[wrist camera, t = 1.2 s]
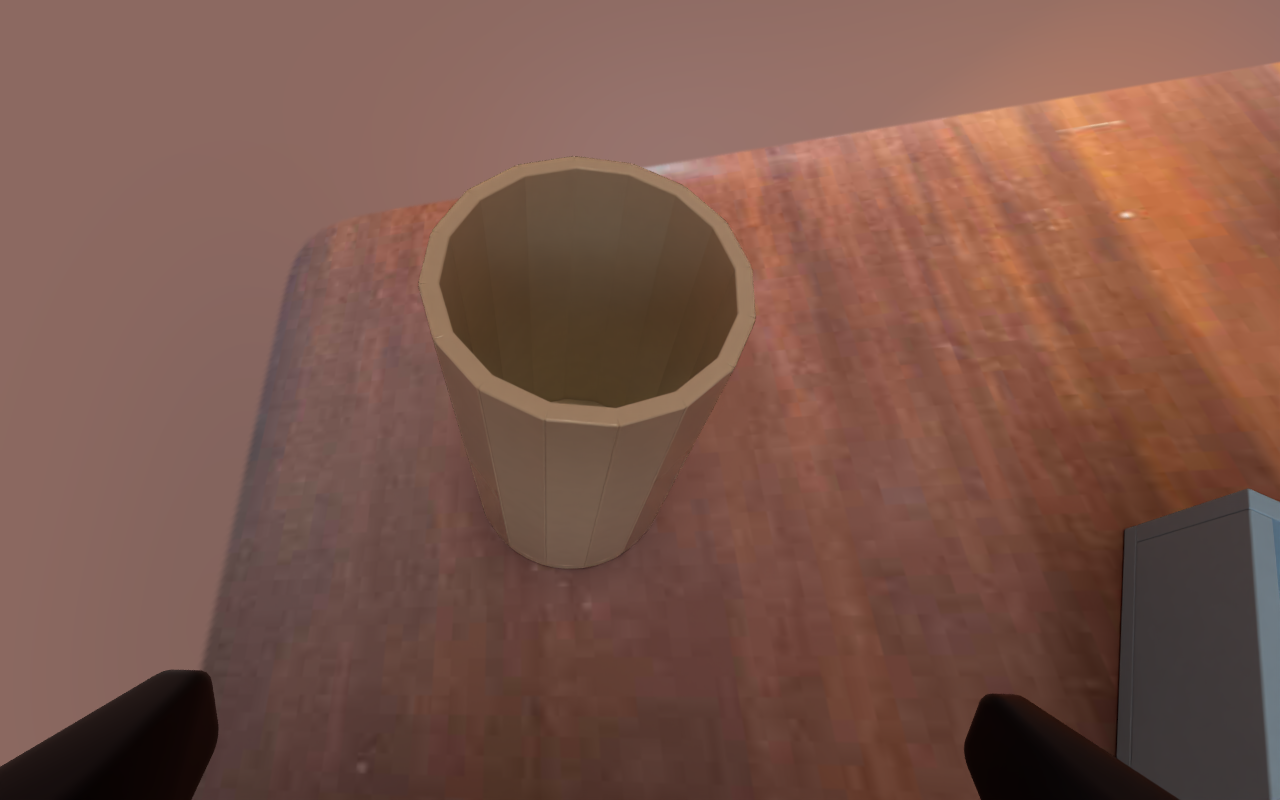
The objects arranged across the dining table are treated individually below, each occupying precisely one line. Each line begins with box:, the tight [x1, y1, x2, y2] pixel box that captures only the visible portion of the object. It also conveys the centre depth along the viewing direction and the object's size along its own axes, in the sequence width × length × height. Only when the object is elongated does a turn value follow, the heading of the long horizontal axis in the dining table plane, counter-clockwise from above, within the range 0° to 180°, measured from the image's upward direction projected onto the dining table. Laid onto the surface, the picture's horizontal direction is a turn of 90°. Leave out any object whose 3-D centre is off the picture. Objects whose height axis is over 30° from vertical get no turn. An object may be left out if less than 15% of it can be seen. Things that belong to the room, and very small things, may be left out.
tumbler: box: [418, 156, 756, 569], centre depth 18 cm, size 7×7×12 cm
